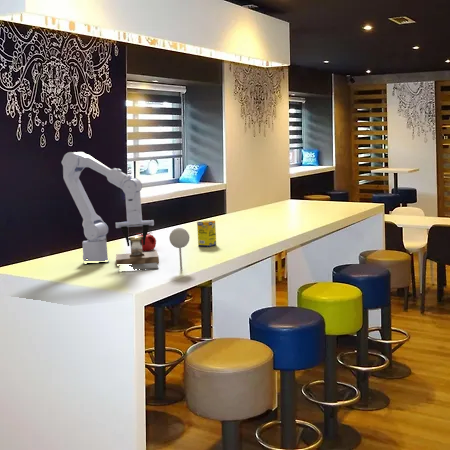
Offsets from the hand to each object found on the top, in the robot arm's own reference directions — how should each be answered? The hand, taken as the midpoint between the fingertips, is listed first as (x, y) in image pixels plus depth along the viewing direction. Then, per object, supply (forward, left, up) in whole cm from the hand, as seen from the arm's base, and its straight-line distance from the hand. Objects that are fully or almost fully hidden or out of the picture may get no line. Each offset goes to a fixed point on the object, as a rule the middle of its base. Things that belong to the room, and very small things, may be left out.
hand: (136, 245), depth 237 cm
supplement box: (+31, +25, -7) cm, 41 cm away
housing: (0, 0, -7) cm, 7 cm away
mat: (0, -13, -7) cm, 14 cm away
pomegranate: (+4, +26, -7) cm, 28 cm away
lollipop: (+15, -22, -7) cm, 27 cm away
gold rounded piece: (0, 0, -3) cm, 3 cm away
